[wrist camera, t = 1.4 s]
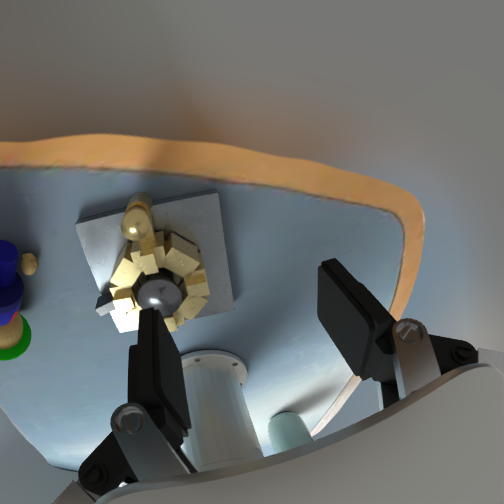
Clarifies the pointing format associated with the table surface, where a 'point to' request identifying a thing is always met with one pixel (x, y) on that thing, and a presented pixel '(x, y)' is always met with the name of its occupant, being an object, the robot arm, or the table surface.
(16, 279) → the toy
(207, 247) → the base plate
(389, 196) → the table surface
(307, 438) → the cup
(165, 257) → the ring nut
